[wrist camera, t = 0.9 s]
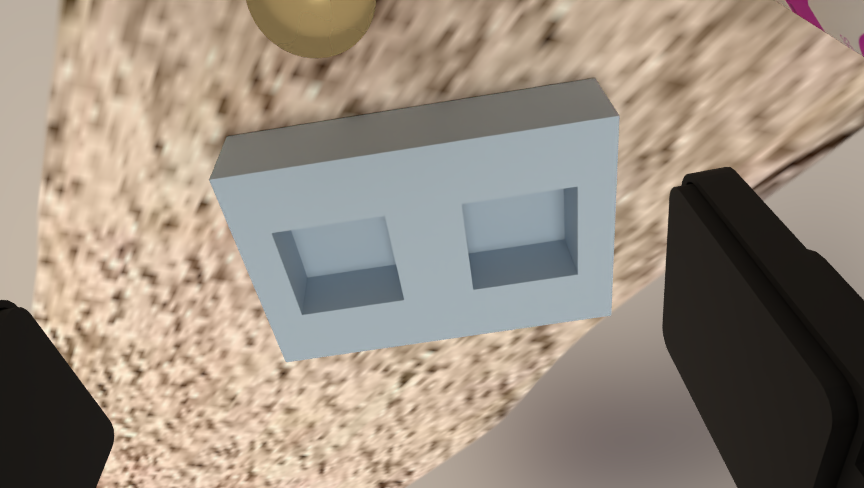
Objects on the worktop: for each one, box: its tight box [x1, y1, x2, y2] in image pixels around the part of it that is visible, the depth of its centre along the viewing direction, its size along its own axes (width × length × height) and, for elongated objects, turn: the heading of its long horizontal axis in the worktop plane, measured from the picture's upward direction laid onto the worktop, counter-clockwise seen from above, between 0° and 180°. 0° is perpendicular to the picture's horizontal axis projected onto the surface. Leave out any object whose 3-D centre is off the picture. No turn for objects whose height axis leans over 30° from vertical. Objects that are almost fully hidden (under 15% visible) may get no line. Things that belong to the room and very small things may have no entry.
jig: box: [209, 78, 619, 362], centre depth 33 cm, size 12×18×4 cm, turn 98°
